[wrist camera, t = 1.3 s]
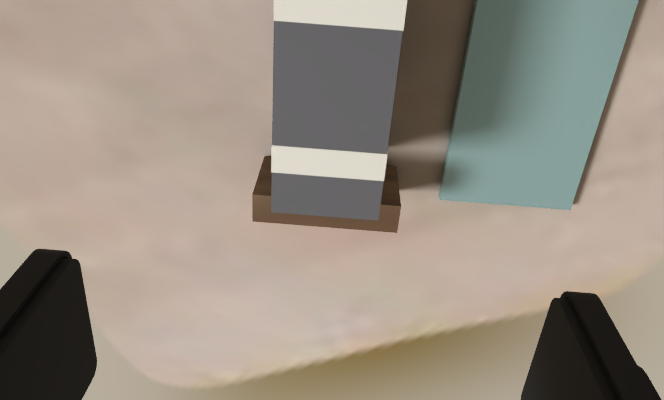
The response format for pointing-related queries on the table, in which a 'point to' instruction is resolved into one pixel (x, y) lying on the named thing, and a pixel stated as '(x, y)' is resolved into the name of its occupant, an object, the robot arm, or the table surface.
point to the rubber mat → (532, 99)
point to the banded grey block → (333, 104)
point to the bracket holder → (263, 214)
